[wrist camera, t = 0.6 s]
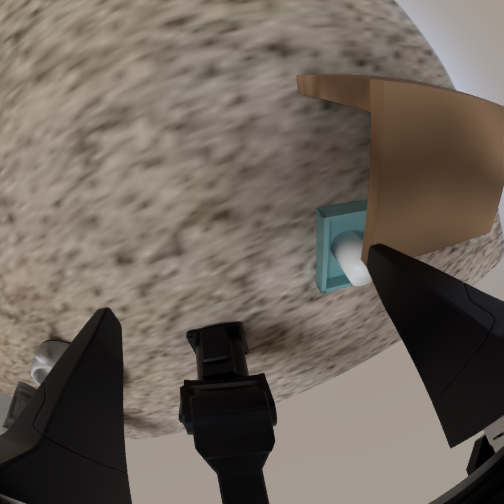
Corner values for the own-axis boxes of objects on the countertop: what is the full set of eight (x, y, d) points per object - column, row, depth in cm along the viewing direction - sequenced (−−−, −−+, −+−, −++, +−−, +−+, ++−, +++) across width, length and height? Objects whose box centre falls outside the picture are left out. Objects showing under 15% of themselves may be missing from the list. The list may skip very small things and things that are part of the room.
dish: (32, 324, 26) (22, 354, 22) (125, 355, 31) (121, 387, 28) (43, 371, 32) (37, 395, 28) (115, 393, 38) (113, 418, 34)
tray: (389, 258, 30) (399, 271, 28) (313, 278, 29) (321, 293, 27) (401, 190, 24) (415, 201, 22) (314, 204, 24) (324, 218, 22)
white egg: (357, 253, 27) (377, 281, 23) (329, 260, 27) (348, 290, 23) (360, 227, 25) (383, 254, 21) (330, 233, 25) (351, 262, 21)
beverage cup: (31, 382, 34) (18, 471, 18) (46, 398, 38) (38, 479, 22) (7, 375, 32) (-9, 458, 17) (23, 391, 37) (11, 468, 21)
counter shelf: (414, 174, 23) (490, 232, 14) (305, 189, 22) (368, 270, 14) (419, 82, 17) (514, 110, 9) (296, 75, 16) (383, 81, 8)
